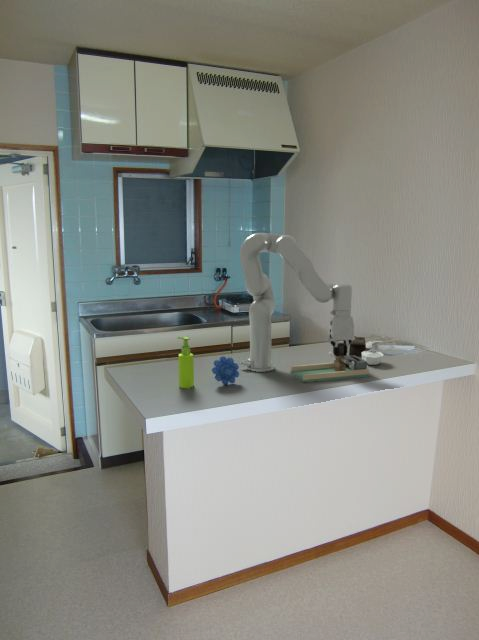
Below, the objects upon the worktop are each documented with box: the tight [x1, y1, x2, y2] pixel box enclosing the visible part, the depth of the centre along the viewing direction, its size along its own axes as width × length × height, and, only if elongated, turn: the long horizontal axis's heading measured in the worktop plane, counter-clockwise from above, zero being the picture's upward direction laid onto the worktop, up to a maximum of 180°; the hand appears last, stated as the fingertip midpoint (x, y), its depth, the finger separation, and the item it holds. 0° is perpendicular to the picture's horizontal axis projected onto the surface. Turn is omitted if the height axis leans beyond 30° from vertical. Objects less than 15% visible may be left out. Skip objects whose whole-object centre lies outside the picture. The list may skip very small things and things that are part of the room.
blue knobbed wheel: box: [211, 355, 240, 386], centre depth 204 cm, size 12×7×12 cm, turn 112°
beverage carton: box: [348, 335, 367, 358], centre depth 258 cm, size 8×19×7 cm, turn 167°
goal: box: [344, 355, 368, 370], centre depth 222 cm, size 6×11×6 cm, turn 17°
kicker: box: [328, 342, 352, 371], centre depth 219 cm, size 3×19×12 cm, turn 17°
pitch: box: [289, 362, 369, 384], centre depth 219 cm, size 30×14×3 cm, turn 107°
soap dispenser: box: [176, 336, 195, 389], centre depth 203 cm, size 6×7×20 cm
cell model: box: [361, 348, 384, 366], centre depth 236 cm, size 10×12×7 cm
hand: (340, 354), depth 219 cm, fingers closed on kicker, 3 cm apart
